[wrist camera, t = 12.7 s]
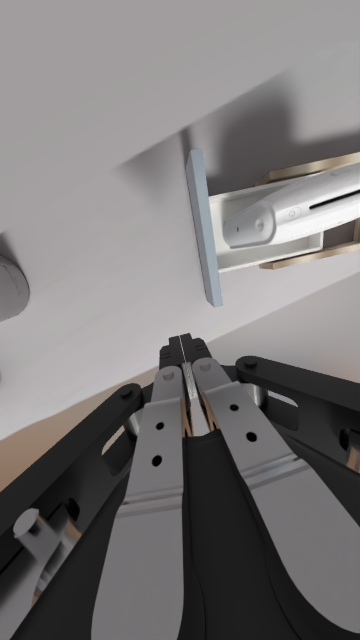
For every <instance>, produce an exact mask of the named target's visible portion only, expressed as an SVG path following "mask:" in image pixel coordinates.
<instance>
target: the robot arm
mask: <svg viewBox="0 0 360 640" xmlns="http://www.w3.org/2000/svg"><path fill="white" fill-rule="evenodd" d="M28 300H29V289H28V284H27V282H26V279H25V277H24V276H23V274H22V273H21V271H20V270H19V269H18V268H17V267H16V266H15V265H14V264H13V263H12V262H11V261H9V260H8V259H6V258H5V257H3V256H1V255H0V322H1V321H4V320H6V319H9V318H11V317H14V316H16V315H18V314H19V313H20V312H22V311H23V310H24V308H25V307H26V305H27V303H28ZM180 339H181V343H182V347H183V351H184V355H183V351H182V347H181V343H180ZM184 356H185V360H186V364H187V368H188V372H189V377H190V380H191V385H192V389H193V393H194V397H195V398H196V397H198V398H199V402H200V406H201V410H202V413H203V416H204V419H205V421H206V424H207V427H208V429H209V433H208V434H206V435H204V436H194V431H193V422H192V412H191V408H190V407H191V402H190V399H193V394H192V390H191V386H190V381H189V377H188V373H187V368H186V364H185V360H184ZM235 365H236V366H224V365H220V364H219V363H218V361H217V360H215V359H213V358H212V356H211V354H210V352H209V350H208V348H207V346H206V344H205V342H204V340H202V339H200V338H196V339H192V337H191V335H190V333H187V334H183V335H180V338H179V336H175V337H171V338H169V345H167V346H163V347H162V348H161V350H160V362H159V371H158V372H157V374H156V375H155V380H154V382H153V383H151V384H150V385H148V386H146V387H144V388H142V389H141V387H140V385H138V384H135V383H131V384H127V385H124V386H122V387H121V388H119V389H118V390H117V391H116V392H114V393H113V394H112V395H111V396H110V397H109V398H108V399H106V400H105V401H104V402H103V403H102V404H101V405H100V406H98V407H97V408H96V409H95V410H94V411H93V412H92V413H90V414H89V415H88V416H87V417H86V418H85V419H84V420H82V421H81V422H80V423H79V424H78V425H77V426H76V427H74V428H73V429H72V430H71V431H70V432H69V433H68V434H67V435H65V436H64V437H63V438H62V439H61V440H60V441H58V442H57V443H56V444H55V445H54V446H53V447H52V448H50V449H49V450H48V451H47V452H46V453H45V454H44V455H42V456H41V457H40V458H39V459H38V460H37V461H36V462H34V463H33V464H32V465H31V466H30V467H29V468H28V469H26V470H25V471H24V472H23V473H22V474H21V475H20V476H18V477H17V478H16V479H15V480H14V481H13V482H11V483H10V484H9V485H8V486H7V487H6V488H5V489H4V490H2V491H1V492H0V640H360V383H355V382H352V381H348V380H345V379H341V378H337V377H333V376H329V375H325V374H322V373H318V372H314V371H310V370H306V369H303V368H299V367H295V366H291V365H287V364H283V363H280V362H276V361H272V360H268V359H264V358H261V357H256V356H244V357H241V358H240V359H238V360H237V361H236V364H235ZM268 390H269V391H272V392H275V393H277V394H280V395H283V396H285V397H288V398H290V399H292V400H294V402H295V403H296V404H297V405H298V407H296V406H293V405H291V404H289V403H286V402H284V401H281V400H279V399H276V398H273V397H271V396H269V395H268ZM122 425H123V427H124V429H125V431H124V432H123V433H122V434H121V435H120V436H119V437H118V439H117V440H116V441H115V442H114V443H113V444H112V445H111V446H110V448H109V449H108V450H107V451H106V452H105V453H104V454H103V455H102V450H103V447H104V445H105V444H106V442H107V441H108V440H109V439H110V438H111V437H112V436H113V435H114V434H115V433H116V432H117V430H118V429H119V428H120V427H121V426H122Z"/></svg>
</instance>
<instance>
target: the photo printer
mask: <svg viewBox="0 0 360 640" xmlns="http://www.w3.org/2000/svg"><path fill="white" fill-rule="evenodd" d="M359 217H360V163H355V164H351V165H347V166H344V167H340V168H337V169H333V170H330V171H327V172H324V173H321V174H318V175H315V176H312V177H309V178H307V179H304V180H301V181H299V182H296V183H294V184H291V185H289V186H286V187H284V188H282V189H280V190H278V191H276V192H274V193H272V194H270V195H268V196H266V197H265V198H263V199H261V200H260V201H258V202H256V203H255V204H253V205H251V206H250V207H248V208H246V209H244V210H243V211H241V212H239V213H238V214H236V215H234V216H232V217H231V218H229V219H228V220H226V221H225V226H224V229H223V238H224V241H225V243H226V244H227V245H228V246H230V249H242V248H251V247H259V246H267V245H274V244H280V243H285V242H289V241H292V240H296V239H299V238H303V237H306V236H309V235H312V234H316V233H319V232H322V231H325V230H328V229H330V228H333V227H336V226H339V225H342V224H344V223H347V222H349V221H352V220H354V219H357V218H359Z"/></svg>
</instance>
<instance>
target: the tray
mask: <svg viewBox="0 0 360 640" xmlns="http://www.w3.org/2000/svg"><path fill="white" fill-rule="evenodd" d="M185 169H186V175H187V181H188V187H189V193H190V200H191V206H192V212H193V218H194V224H195V230H196V236H197V242H198V248H199V255H200V261H201V267H202V273H203V279H204V285H205V291H206V297H207V301H208V302H209V303H210V304H211V305H212V306H213V307H218V306H222V305H223V301H222V294H221V286H220V279H219V273H221V272H226V271H230V270H235V269H239V268H243V267H248V266H252V265H256V264H261V263H265V262H270V261H274V260H278V259H283V258H287V257H291V256H296V255H300V254H305V253H309V252H313V251H318V250H322V249H323V232H324V231H322V232H319V233H316V234H312V235H309V236H306V237H303V238H299V239H296V240H292V241H289V242H285V243H280V244H274V245H267V246H259V247H251V248H242V249H230V246H228V245H227V244H226V243H225V241H224V238H223V229H224V226H225V221H226V220H228V219H229V218H231V217H232V216H234V215H236V214H238V213H239V212H241V211H243V210H244V209H246V208H248V207H250V206H251V205H253V204H255V203H256V202H258V201H260V200H261V199H263V198H265V197H266V196H268V195H270V194H272V193H274V192H276V191H278V190H280V189H282V188H284V187H286V186H289V185H291V184H294V183H296V182H299V181H301V180H304V179H307V178H309V177H312V176H315V175H318V174H321V173H324V172H321V173H316V174H312V175H307V176H302V177H298V178H293V179H289V180H284V181H279V182H275V183H270V184H265V185H261V186H256V187H252V188H247V189H242V190H238V191H233V192H228V193H224V194H219V195H215V196H210V197H208V189H207V182H206V174H205V167H204V159H203V152H202V148H198V149H193V150H190V154H189V157H188V161H187V165H186V168H185ZM326 172H327V171H326Z"/></svg>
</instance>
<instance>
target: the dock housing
mask: <svg viewBox="0 0 360 640" xmlns="http://www.w3.org/2000/svg"><path fill="white" fill-rule="evenodd" d="M355 163H360V152H358V153H353V154H349V155H344V156H339V157H335V158H330V159H325V160H321V161H316V162H311V163H307V164H302V165H297V166H293V167H288V168H283V169H279V170H274V171H270V172H268V173H267V174H266V175H265V176H263V177H262V178H261V179H260V180H258V181H257V182H256V183H255V187H256V186H261V185H265V184H270V183H275V182H279V181H284V180H289V179H293V178H298V177H302V176H307V175H312V174H316V173H321V172H326V171H330V170H333V169H337V168H340V167H344V166H347V165H351V164H355ZM356 250H360V217H359V218H357V219H355V226H354V236H353V242H348V243H344V244H340V245H335V246H331V247H327V248H323V249H322V250H318V251H313V252H309V253H305V254H300V255H296V256H291V257H287V258H283V259H278V260H274V261H270V262H265V263H261V264H259V266H260V268H262V269H278V268H282V267H286V266H291V265H295V264H299V263H304V262H308V261H312V260H317V259H321V258H325V257H330V256H334V255H338V254H343V253H347V252H352V251H356Z"/></svg>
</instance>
